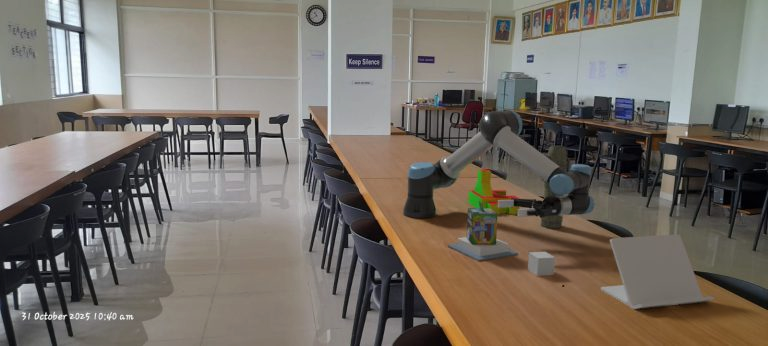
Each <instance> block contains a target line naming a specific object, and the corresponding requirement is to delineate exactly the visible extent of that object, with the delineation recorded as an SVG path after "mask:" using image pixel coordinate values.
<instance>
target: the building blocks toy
mask: <svg viewBox="0 0 768 346" xmlns="http://www.w3.org/2000/svg"><path fill="white" fill-rule="evenodd" d="M491 173H492V171H491V170H489V169H487V168H486V169H483V168H482V169H481V168H480V169H479V168H478V169H477V181H476V184H475V186H474V188H473V189H472V190H471V189H469V190H468V199H467V200H468V202H467V203H468V204H470V205H471V206H472V207H473V208H480V205H479V201H480V202H482V205H483V208H491V209H492V210H494V211H495V212H496V213H497V216H498V215H499V214H508V215H518V209H520V207H517V206H513V208H511V207H504V208H498V200H511V198H517V199H520V198H519V197H518V196H516V195H507V190H505V189H501V190H500V189H497V190H496V189H492V184H491V175H492V174H491ZM481 207H482V206H481Z"/></svg>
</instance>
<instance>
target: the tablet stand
mask: <svg viewBox="0 0 768 346" xmlns="http://www.w3.org/2000/svg"><path fill="white" fill-rule="evenodd" d="M609 243H610V246H611V249H612V252H613V256H614V259H615V262H616V266H617V268H618V272H619V275H620V278H621V281H622V284H621V285H619V284H618V285H609V286H608V285H607V286H601V287H600V291H601V292H603V291H604V293H605V294H607V295H609V296H610V295H611V296H610V297H612V298H614V299H615V298H616V300H617V299H618V300H617V301H619V300H620V301H619V302H621V303H622V302H623V303H622V304H624V305H626V306H627V305H628V306H627V307H629V306H630V307H629V308H631V309H633V310H639V309H640V308H641V309H649V308H650V307H651V308H658V307H659V308H660V307H667V306H668V307H669V306H676V305H679V304H680V305H686V304H687V305H688V304H689V305H690V304H697V303H698V302H699V303H706V302H711V301H714V300H715V298H714V296H712V295H711V296H709V295H708V296H703V294H702V291H701V287H700V285H699V283H698V281H697V277H696V274H695V272H694V269H693V266H692V264H691V261H690V258H689V256H688V252H687V250H686V247H685V245H684V244H685V243H684V241H683V239H682V236H681V235H680V234H679V233H678V234H676V233H675V234H663V235H662V234H661V235H645V236H627V237H613V238H610V239H609ZM699 303H698V304H699ZM651 308H650V309H651Z"/></svg>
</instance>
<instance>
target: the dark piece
mask: <svg viewBox="0 0 768 346" xmlns="http://www.w3.org/2000/svg"><path fill="white" fill-rule="evenodd" d="M567 153H568V152H567V148H566V146H564V145H555V144H554V145H551V146H550V147H549V149H548V153H547V156H546V157H547V158H548V159H550V160H551V161H553V162H554V163H555V164H557V165H558V166H559V167H561V168H562V169H563V170H565V171H566V172H570V169H571V162H572V161H571V159H570V157H567V155H568V154H567ZM541 181H542V182H543V187H544V194H543V200H544V199H545V198H546V197H548V196H564V195H557V194H555V193H553V192H552V191H551V189H550V186H549V184H548V183H547V182H546V181H544V180H543V179H542V178H541ZM563 216H564V215H563ZM563 216H560V215H557V216H546V217H543V218H540V226H541V227H543V228H545V229H549V230H550V229H552V230H559V229H560V230H561V229H562V223H563V219H564V218H563Z"/></svg>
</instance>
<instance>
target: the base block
mask: <svg viewBox="0 0 768 346" xmlns="http://www.w3.org/2000/svg"><path fill="white" fill-rule="evenodd" d="M456 241H457V243H456V244H457V246H458V247H460V248H462V249H465V250H467V251H469V252H471V253H473V254H475V255H478V256H485V255H491V254H497V253H503V252H508V249H509V243H508V242H505V241H502V240H500V239H498V238H496V244H471V243H470V241H469V240H468V238H467V236H463V237H458V238H457V239H456Z"/></svg>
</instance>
